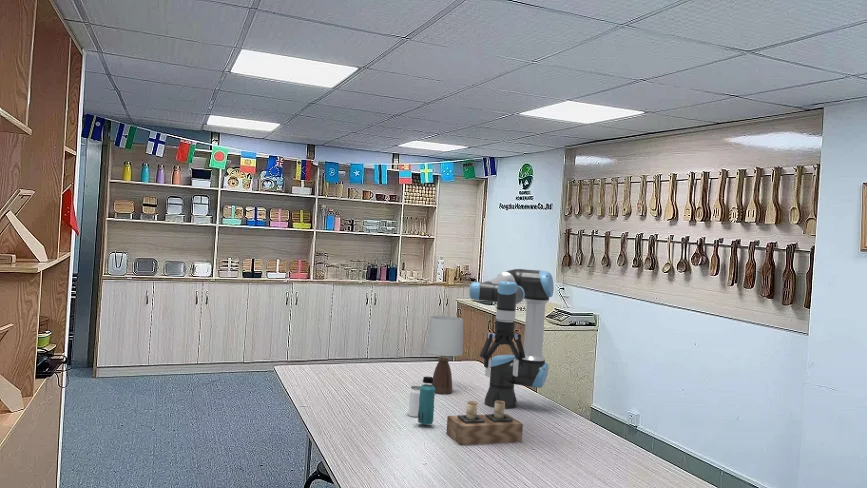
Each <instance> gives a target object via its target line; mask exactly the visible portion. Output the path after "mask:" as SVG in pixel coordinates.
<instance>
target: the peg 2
mask: <svg viewBox="0 0 867 488" xmlns="http://www.w3.org/2000/svg"><path fill="white" fill-rule="evenodd" d="M493 408H494V409H493V410H494V411H493V414H494V418H495V419H504V414H505V412H506V411H505V409H506V408H505V402H504V401H500V400H496V401H495V407H493Z"/></svg>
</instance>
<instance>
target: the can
mask: <svg viewBox="0 0 867 488" xmlns="http://www.w3.org/2000/svg"><path fill="white" fill-rule="evenodd" d="M420 387H421V386H418V385H412V386H410V389H409V393H408V397H409V398H408V409H407V410H408V411H407V414H408V416H409V417H412V418H418V411H419V397H420Z"/></svg>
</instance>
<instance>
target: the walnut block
mask: <svg viewBox="0 0 867 488" xmlns="http://www.w3.org/2000/svg"><path fill="white" fill-rule="evenodd" d="M446 419H447V421H446V433H445V434H446V435H447V436H448V437H450V438H451V439H453V440H454V441H455V443H457V444H458V445H459V446H465V445H467V446H470V445H486V444H505V443H506V444H507V443H522V442H523V429H524V424H523V423H522V422H521V421H519V420H517V419H515V418H514V417H512V416H511V415H510V414H507V413H504V419H495V418H494V413H487V414H477V415H476V420H467V419H466V414H458V415H447V417H446Z"/></svg>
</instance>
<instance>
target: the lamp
mask: <svg viewBox="0 0 867 488" xmlns="http://www.w3.org/2000/svg"><path fill="white" fill-rule="evenodd" d="M463 330H464V320H463V318H462V317H457V316H450V315H432V316H430V317H429V324H428V331H427V336H426V337H427V338H426V345H425V353H426V354H429V355H433V356H437V361H438V362H437V364H436V365H435V368H434V371H433V375H432V378H433V383H430V385H433V386H434V388H435V394H439V395H449V394H453V391H454V390H453V377H452V370H451V367H450V363H449V362H450V360H451V359H450V358H449V357H458V356H462V355H464V353H463V352H464V341H463V339H464V331H463ZM438 356H439V357H438Z"/></svg>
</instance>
